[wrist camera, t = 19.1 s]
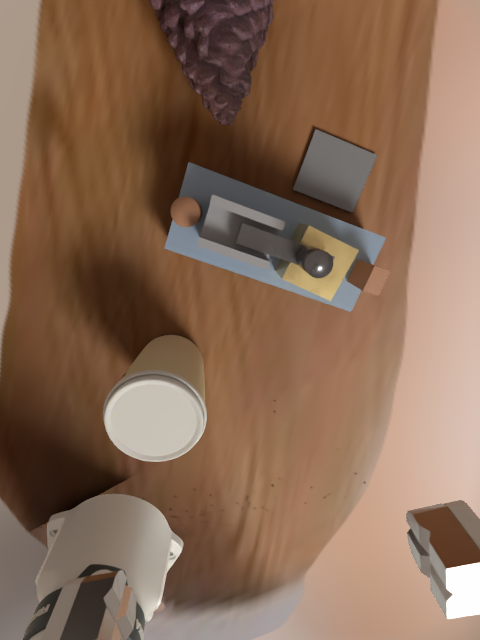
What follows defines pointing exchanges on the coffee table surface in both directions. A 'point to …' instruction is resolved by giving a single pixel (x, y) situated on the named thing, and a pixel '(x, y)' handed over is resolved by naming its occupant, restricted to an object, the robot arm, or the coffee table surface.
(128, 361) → the coffee table surface
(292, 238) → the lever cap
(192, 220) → the plane body
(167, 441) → the coffee cup
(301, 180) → the mat
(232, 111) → the pine cone
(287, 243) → the ball-knob lever
